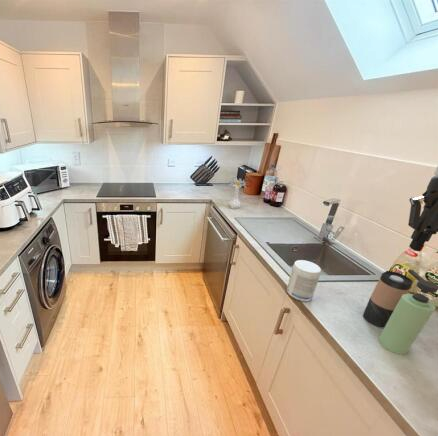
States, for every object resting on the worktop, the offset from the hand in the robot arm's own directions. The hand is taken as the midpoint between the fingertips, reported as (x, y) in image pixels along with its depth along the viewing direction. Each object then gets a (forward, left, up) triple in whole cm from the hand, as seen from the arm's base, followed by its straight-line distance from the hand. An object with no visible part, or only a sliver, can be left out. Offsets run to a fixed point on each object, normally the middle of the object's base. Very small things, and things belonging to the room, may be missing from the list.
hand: (414, 248), depth 77 cm
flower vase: (+72, -96, -31) cm, 124 cm away
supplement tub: (+26, -1, -31) cm, 40 cm away
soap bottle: (-1, +12, -31) cm, 33 cm away
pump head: (-1, +9, -8) cm, 12 cm away
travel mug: (+1, +1, -31) cm, 31 cm away
